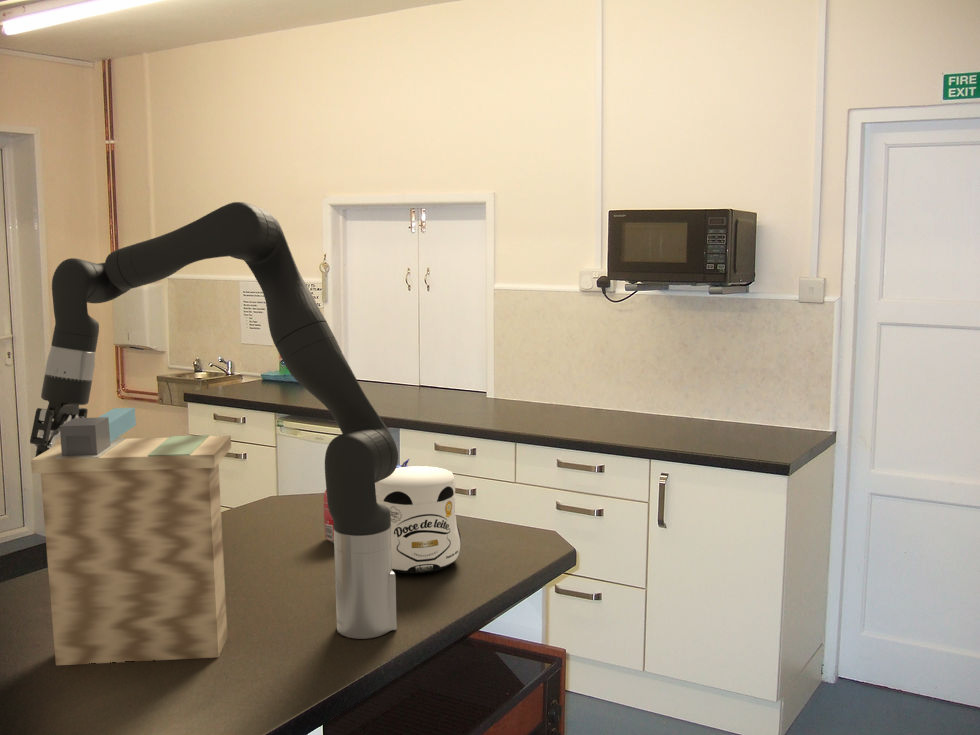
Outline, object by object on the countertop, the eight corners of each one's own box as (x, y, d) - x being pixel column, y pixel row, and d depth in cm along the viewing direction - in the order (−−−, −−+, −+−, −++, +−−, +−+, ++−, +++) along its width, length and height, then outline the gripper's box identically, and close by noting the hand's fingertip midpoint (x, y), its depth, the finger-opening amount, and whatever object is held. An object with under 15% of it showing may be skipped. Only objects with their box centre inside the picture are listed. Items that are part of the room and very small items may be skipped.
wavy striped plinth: (239, 622, 149) (230, 434, 144) (224, 658, 136) (213, 453, 132) (78, 630, 146) (64, 439, 142) (47, 667, 134) (30, 458, 129)
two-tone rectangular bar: (140, 424, 153) (138, 399, 152) (97, 455, 131) (95, 425, 130) (110, 425, 152) (108, 399, 152) (61, 456, 131) (59, 426, 130)
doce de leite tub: (420, 588, 163) (418, 493, 161) (354, 567, 174) (351, 478, 171) (478, 560, 177) (477, 473, 175) (413, 543, 187) (412, 460, 185)
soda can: (363, 535, 193) (362, 482, 191) (349, 546, 186) (348, 491, 184) (333, 533, 194) (331, 480, 193) (319, 543, 188) (317, 488, 186)
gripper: (71, 378, 146) (54, 475, 146) (108, 378, 161) (93, 467, 160) (26, 371, 146) (9, 468, 146) (67, 372, 161) (52, 461, 160)
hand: (53, 467), depth 153 cm, fingers open, 8 cm apart
